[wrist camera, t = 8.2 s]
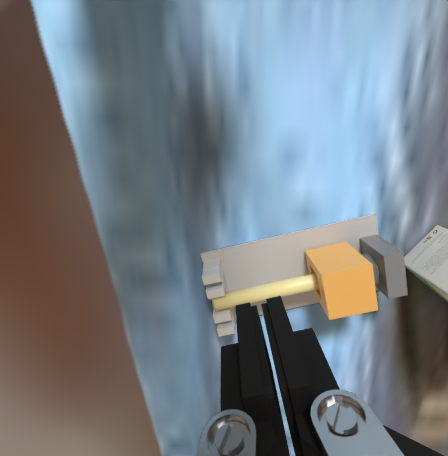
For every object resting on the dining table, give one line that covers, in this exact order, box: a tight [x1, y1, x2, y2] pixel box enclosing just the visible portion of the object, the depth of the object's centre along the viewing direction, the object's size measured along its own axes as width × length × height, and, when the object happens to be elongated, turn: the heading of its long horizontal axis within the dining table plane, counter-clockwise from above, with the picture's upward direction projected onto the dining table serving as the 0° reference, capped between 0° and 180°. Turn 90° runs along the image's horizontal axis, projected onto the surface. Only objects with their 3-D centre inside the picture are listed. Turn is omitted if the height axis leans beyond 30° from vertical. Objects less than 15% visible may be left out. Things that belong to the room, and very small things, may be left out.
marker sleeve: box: [305, 242, 378, 320], centre depth 34 cm, size 5×5×7 cm
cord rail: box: [201, 214, 408, 337], centre depth 35 cm, size 10×22×6 cm, turn 104°
